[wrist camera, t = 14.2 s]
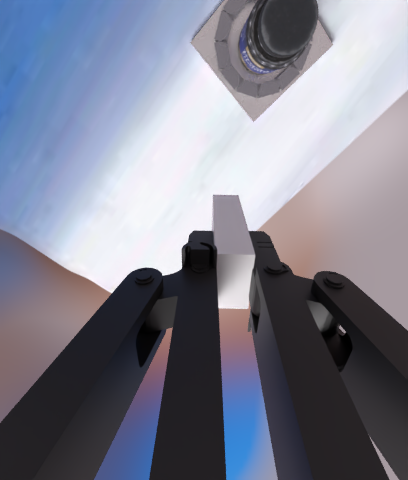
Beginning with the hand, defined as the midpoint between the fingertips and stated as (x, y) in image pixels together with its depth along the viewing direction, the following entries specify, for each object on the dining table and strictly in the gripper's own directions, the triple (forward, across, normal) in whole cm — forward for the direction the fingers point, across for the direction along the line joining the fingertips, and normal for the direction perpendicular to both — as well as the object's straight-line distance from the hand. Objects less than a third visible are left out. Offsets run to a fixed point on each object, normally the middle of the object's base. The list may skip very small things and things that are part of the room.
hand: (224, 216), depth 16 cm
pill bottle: (+24, +5, +12) cm, 27 cm away
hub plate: (+24, +5, +12) cm, 28 cm away
